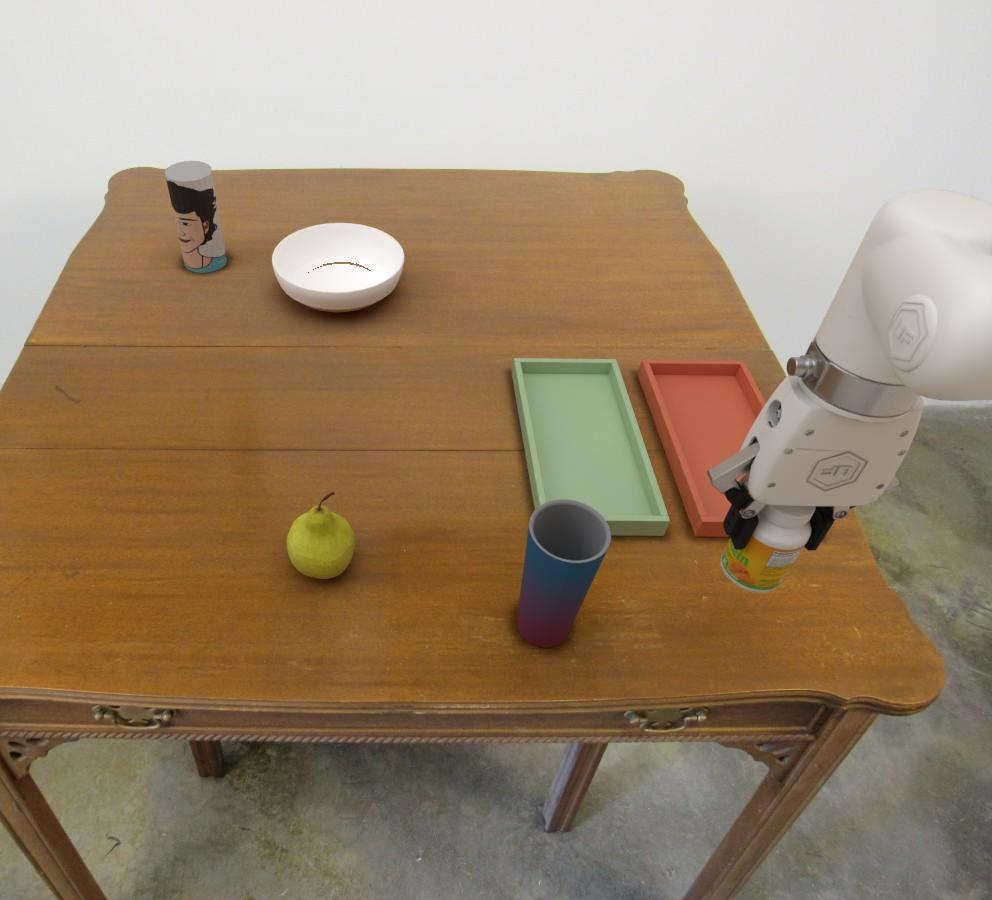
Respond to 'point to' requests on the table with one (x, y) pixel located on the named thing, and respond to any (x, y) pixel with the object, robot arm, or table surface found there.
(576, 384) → the sage tray
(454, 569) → the table surface
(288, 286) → the bowl
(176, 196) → the white printed cylinder
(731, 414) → the terracotta tray
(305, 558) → the fruit
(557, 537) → the cup
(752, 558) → the supplement bottle
